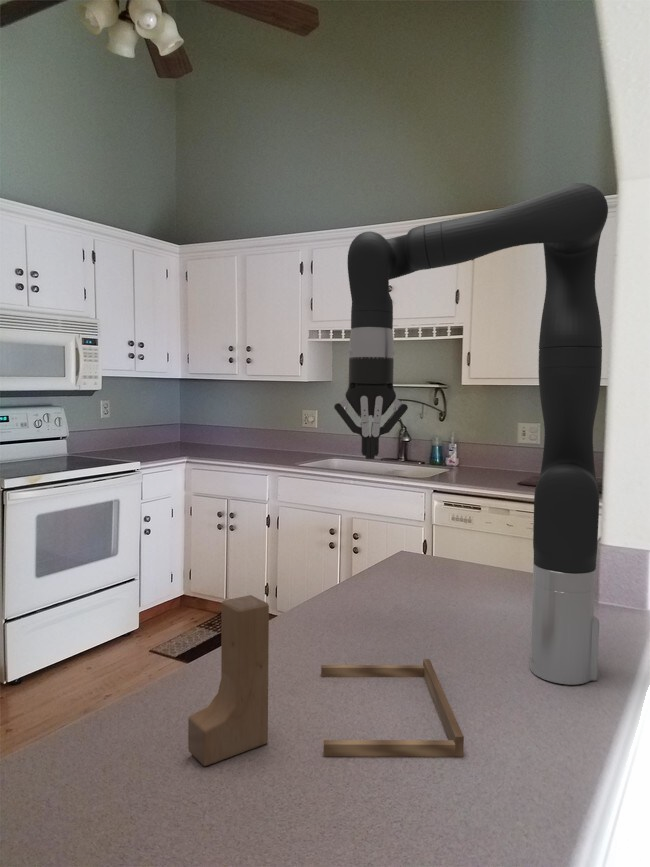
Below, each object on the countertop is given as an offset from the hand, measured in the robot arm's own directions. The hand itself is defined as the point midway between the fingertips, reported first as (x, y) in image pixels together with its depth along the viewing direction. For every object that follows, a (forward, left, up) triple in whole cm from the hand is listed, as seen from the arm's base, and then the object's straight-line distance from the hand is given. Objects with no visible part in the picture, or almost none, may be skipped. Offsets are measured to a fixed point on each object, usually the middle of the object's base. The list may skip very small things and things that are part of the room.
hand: (369, 458), depth 110 cm
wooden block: (+20, +32, -33) cm, 50 cm away
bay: (0, +22, -33) cm, 40 cm away
